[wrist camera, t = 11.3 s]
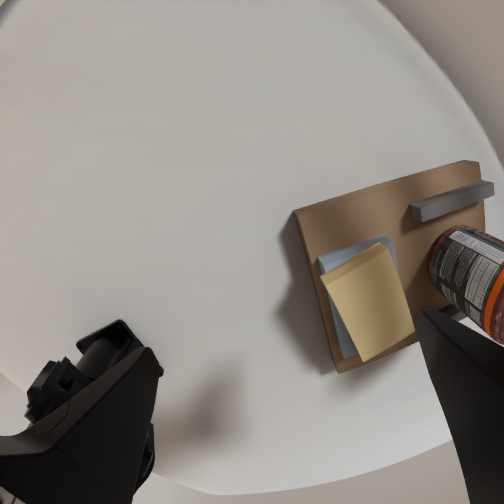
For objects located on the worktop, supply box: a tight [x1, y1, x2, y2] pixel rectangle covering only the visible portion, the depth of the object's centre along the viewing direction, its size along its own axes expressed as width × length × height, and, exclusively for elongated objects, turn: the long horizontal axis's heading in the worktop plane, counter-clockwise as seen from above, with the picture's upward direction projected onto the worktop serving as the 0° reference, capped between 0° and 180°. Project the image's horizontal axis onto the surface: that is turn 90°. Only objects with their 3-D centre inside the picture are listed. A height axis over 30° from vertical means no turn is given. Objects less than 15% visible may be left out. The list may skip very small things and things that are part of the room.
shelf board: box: [293, 160, 494, 374], centre depth 20 cm, size 16×14×5 cm
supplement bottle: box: [429, 225, 504, 345], centre depth 15 cm, size 6×6×11 cm
